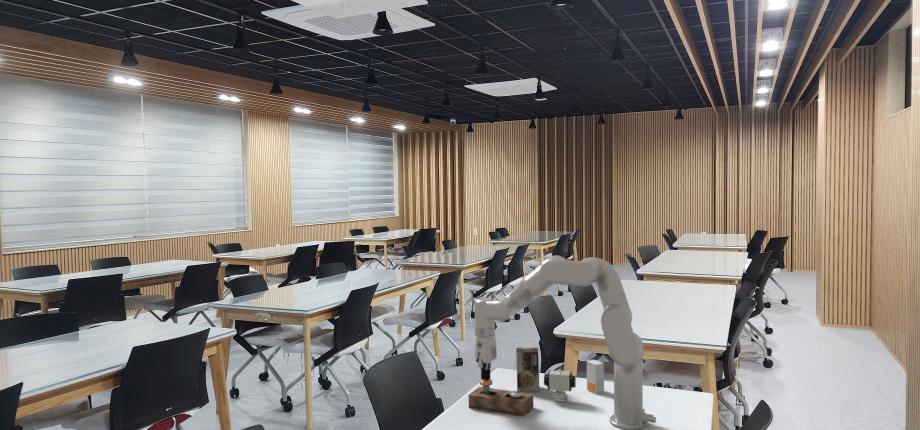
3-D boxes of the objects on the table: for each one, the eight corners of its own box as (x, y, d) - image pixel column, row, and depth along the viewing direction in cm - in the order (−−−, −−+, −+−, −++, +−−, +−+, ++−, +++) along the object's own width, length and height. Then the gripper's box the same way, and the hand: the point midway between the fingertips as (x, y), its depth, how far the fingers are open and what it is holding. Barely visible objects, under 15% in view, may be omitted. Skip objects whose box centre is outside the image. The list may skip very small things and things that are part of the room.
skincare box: (586, 390, 243) (586, 360, 242) (595, 388, 245) (594, 359, 244) (595, 394, 237) (595, 364, 237) (604, 392, 239) (604, 363, 239)
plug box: (533, 407, 225) (533, 394, 225) (524, 416, 216) (523, 403, 216) (479, 399, 235) (479, 386, 235) (468, 407, 226) (468, 394, 226)
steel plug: (524, 405, 224) (524, 391, 224) (519, 410, 220) (519, 395, 220) (512, 403, 226) (512, 390, 226) (507, 408, 222) (507, 394, 222)
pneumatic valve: (575, 404, 228) (574, 372, 227) (544, 401, 231) (543, 370, 231) (576, 399, 233) (576, 368, 233) (546, 396, 236) (545, 366, 236)
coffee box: (539, 386, 249) (538, 347, 248) (539, 391, 243) (538, 351, 242) (516, 385, 250) (516, 347, 249) (516, 391, 244) (516, 351, 243)
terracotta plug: (494, 393, 229) (494, 379, 229) (489, 397, 225) (489, 383, 225) (483, 391, 231) (482, 377, 231) (477, 395, 227) (477, 381, 227)
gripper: (486, 336, 219) (486, 386, 220) (501, 327, 232) (502, 374, 233) (467, 335, 222) (468, 384, 223) (483, 326, 235) (484, 372, 236)
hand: (485, 379), depth 228 cm, fingers closed
